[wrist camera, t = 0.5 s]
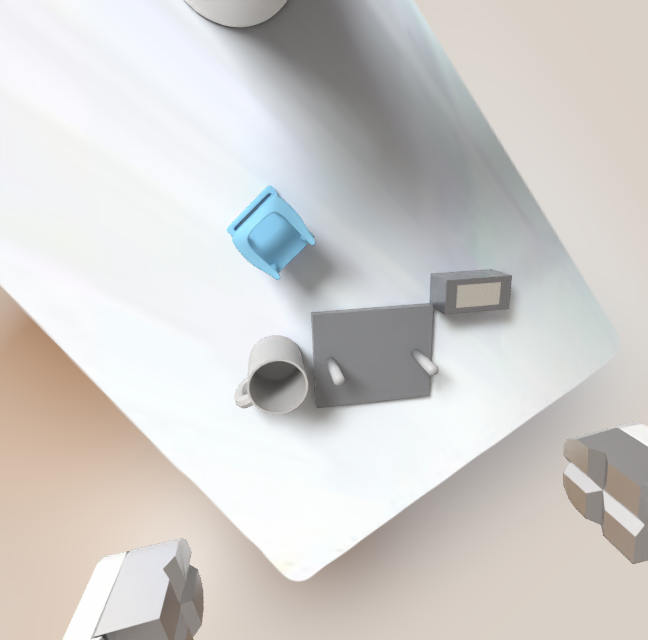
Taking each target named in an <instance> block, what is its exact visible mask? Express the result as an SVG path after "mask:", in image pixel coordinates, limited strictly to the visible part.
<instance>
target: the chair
mask: <svg viewBox="0 0 648 640" xmlns="http://www.w3.org/2000/svg"><path fill="white" fill-rule="evenodd" d="M268 194H271V196H270V197H269V198H268V199H267V200H266V201H265V202H264V203H263V204H262V205H261V206H260V207H259V208H258V209H257V210H256V211H255V212H254V213H253V214H252V215H251V216H250V217H249V218H248V219H247V220H246V221H245V222H244V223H243V224H242V225H241V226H240V227H239V228H238V229H237V230H235V227H236V226H237V225H238V224H239V223H240V222H241V221H242V220H243V219H244V218H245V217H246V216H247V215H248V214H249V213H250V212H251V211H252V210H253V209H254V208H255V207H256V206H257V205H258V204H259V203H260V202H261V201H262V200H263V199H264V198H265V197H266V196H267V195H268ZM227 232H228V233H229V234H231V236H232V237H233V243H234V245H235V247H236V248H237V249H238V251H239V252H240V253H241V254H242V255H243V256H244V257H245V258H246V259H247V260H248V261H249V262H250V263H251V264H252V265H254V266H255V267H257V268H259V269H260V270H262V271H264V272H266V273H267V274H269V275H271V276H272V277H273V278H275V279H277V280H279V279H280V275H279V274H278V273H279V272H280V271H281V270H282V269H283V268H284V267H285V266H286V265H287V264H288V263H289V262H290V261H291V260H292V259H293V258H294V257H295V256H296V255H297V254H298V253H299V252H300V251H301V250H302V249H303V248H304V247H305V246H306V245H307V244H308V243H310V244H311V245H315V240H314V236H313V235H312V234H311V233H310V231H309V230H308V229H307V227H306V226H305V224H304V222H303V221H302V219H301V218H300V216H299V215H298V214H297V213H296V211H295V210H294V209H293V208H292V207H291V206H290V205H289V204H288V203H287V202H285V201H284V200H283V199H282V198H280V197H279V196H278V194H277V193H276V191H275V189H274V188H273V187H272V186H267V187H266V188H265V189H264V190H263V192H262V193H261V194H260V195H259V196H258V197H257V198H256V199H255V200H254V201H253V202H252V203H251V204H250V205H249V206H248V207H247V208H246V209H245V210H244V211H243V212H242V213H241V214H240V215H239V216H238V217H237V218H236V219H235V220H234V221H233V222H232V223H231V224H230V225H229V227H228V228H227Z"/></svg>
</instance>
